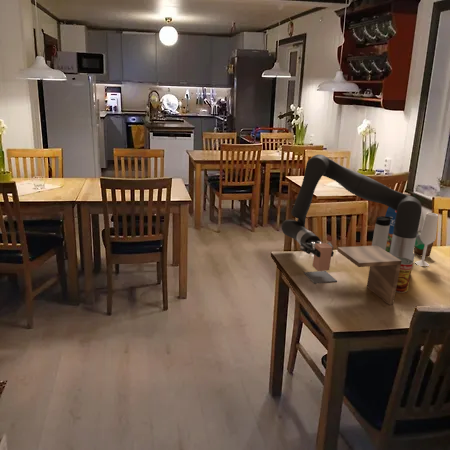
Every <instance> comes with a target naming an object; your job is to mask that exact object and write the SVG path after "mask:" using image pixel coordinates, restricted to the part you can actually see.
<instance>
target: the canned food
mask: <svg viewBox="0 0 450 450" xmlns="http://www.w3.org/2000/svg"><path fill="white" fill-rule="evenodd" d="M396 258H398V259H399V260H401V266H400V271H399V277H398V282H397V287H396V293H401V292H402V293H407V292H408V290H409V284H410V281H411V275H412V271H413V270H412V269H413V266H412V265H414V261H412V260H410V259H408V258H404V257H396ZM411 270H412V271H411Z"/></svg>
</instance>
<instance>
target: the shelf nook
mask: <svg viewBox="0 0 450 450" xmlns="http://www.w3.org/2000/svg"><path fill="white" fill-rule="evenodd" d="M336 249H337V250H336V251H337V252H338V253H339V254H340V255H342V256H343V257H344V258H346V259H348V261H350V262H351V263H352V264H354V265H355V266H357V267H358V268H365V267H366V268H369V271H368V276H367V277H368V278H367V284H366V288H368V289H369V290H370V291H371V292H373V293H374V294H375V295H377V297H378V298H380V299H382V301H384V302H385V303H387V305H389V306H393V305H394V303H395V296H396V293H397V292H396V287H397V282H398V277H399V271H400V266H401V260H399V259H398V258H396V257H395V256H393V255H391V254H390V253H389V252H387V251H385V250H383V249H382V248H380V247H378V246H372V245H362V246H361V245H360V246H359V245H358V246H337V248H336Z"/></svg>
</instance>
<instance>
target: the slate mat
mask: <svg viewBox="0 0 450 450" xmlns="http://www.w3.org/2000/svg"><path fill="white" fill-rule="evenodd" d="M303 274H304V275H305V277H307V278H308V279H309V280H310V281H312V283H313V284H324V283H337V281H338V280H337V279H336V278H335V277H334V276H332V275H331V274H330V273H329V272H327V271H317V270H316V271H304V272H303Z"/></svg>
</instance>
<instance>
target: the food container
mask: <svg viewBox="0 0 450 450" xmlns="http://www.w3.org/2000/svg"><path fill="white" fill-rule="evenodd" d="M421 230H422V229H420V230H419V229H418V231H417V236H416V241H415V246H414V251H413V253H414V254H415V253H416V254H415V255H417V254H418V256H420V255H423V250H424V245H425V244H424V243H423V242H422V241H421V239H420V233H421ZM433 245H434V242H432V243H431V244H428V245H427V250H426V255H425V256H429V257H430V256H431V251H432V249H433Z"/></svg>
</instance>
